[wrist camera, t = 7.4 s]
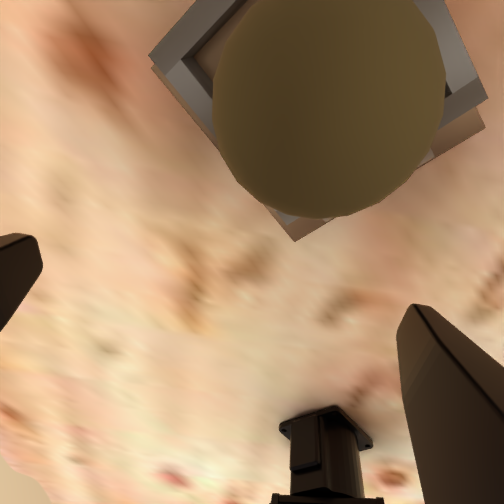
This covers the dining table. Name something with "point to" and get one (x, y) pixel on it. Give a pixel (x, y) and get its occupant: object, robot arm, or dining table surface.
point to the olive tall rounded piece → (327, 102)
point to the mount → (224, 23)
